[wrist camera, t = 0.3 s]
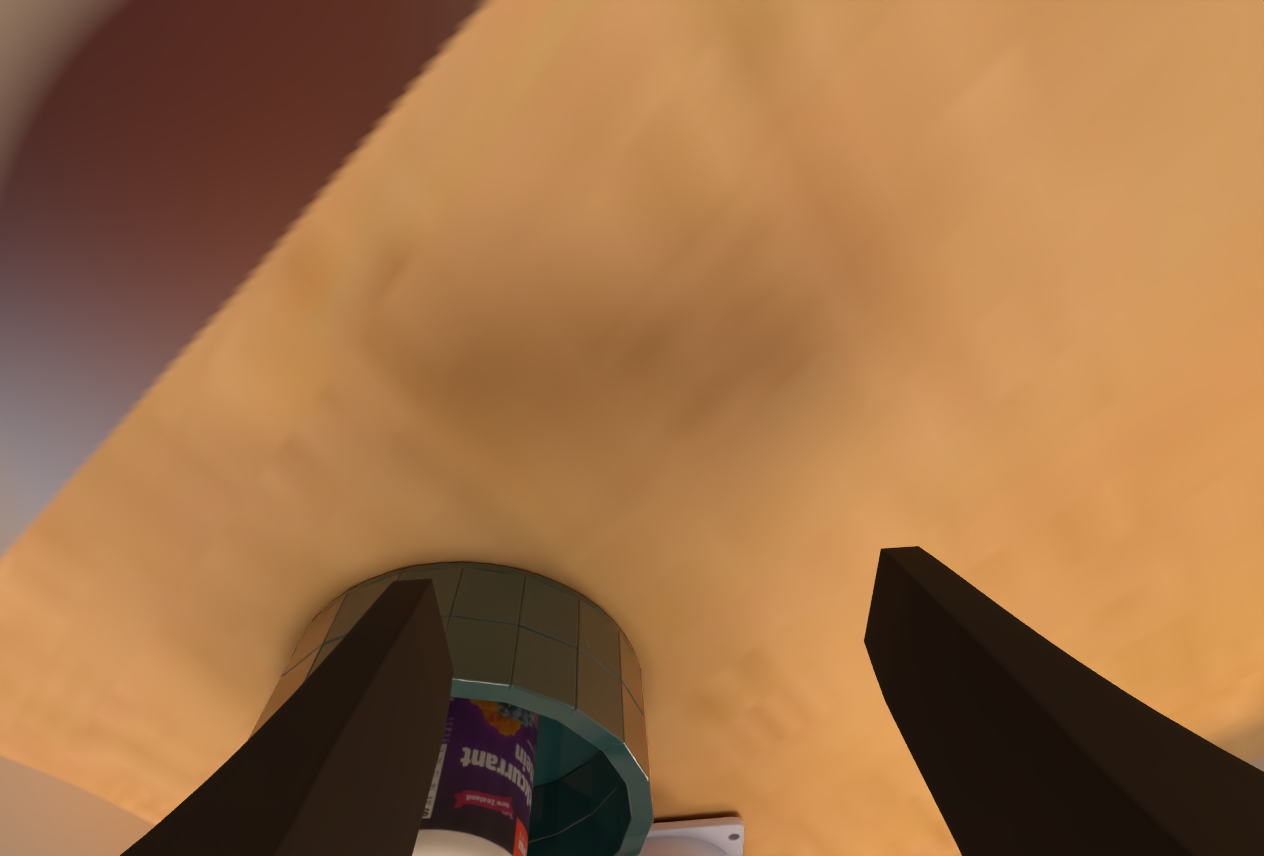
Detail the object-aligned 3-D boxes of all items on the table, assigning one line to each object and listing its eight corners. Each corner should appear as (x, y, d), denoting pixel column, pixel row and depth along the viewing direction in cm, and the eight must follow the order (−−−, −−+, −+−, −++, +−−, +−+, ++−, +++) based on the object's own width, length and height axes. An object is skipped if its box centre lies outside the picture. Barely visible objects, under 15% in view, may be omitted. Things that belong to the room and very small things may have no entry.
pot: (709, 696, 26) (733, 818, 22) (480, 835, 30) (461, 964, 26) (461, 495, 21) (426, 602, 17) (220, 693, 25) (139, 825, 20)
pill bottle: (565, 716, 26) (552, 1027, 17) (455, 762, 27) (391, 1077, 18) (490, 633, 24) (432, 945, 15) (372, 686, 24) (253, 1007, 16)
